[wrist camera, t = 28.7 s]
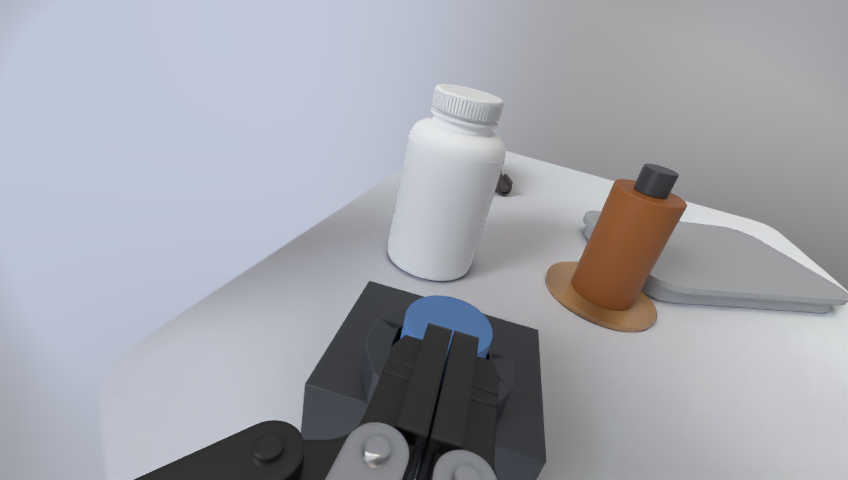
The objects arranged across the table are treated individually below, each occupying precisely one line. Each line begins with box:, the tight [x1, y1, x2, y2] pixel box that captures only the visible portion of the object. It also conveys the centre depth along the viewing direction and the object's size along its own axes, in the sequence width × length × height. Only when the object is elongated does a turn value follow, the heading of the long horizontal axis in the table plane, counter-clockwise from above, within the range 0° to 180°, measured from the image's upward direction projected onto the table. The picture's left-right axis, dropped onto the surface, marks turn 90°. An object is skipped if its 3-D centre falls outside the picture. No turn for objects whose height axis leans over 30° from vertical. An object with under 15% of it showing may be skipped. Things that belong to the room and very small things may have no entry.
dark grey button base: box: [301, 281, 546, 480], centre depth 22 cm, size 11×10×6 cm
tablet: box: [583, 211, 848, 313], centre depth 48 cm, size 16×26×2 cm, turn 99°
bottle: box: [571, 164, 687, 311], centre depth 35 cm, size 6×6×12 cm
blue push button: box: [400, 296, 493, 359], centre depth 19 cm, size 4×4×2 cm
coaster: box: [545, 262, 657, 332], centre depth 38 cm, size 10×10×1 cm
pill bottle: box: [388, 84, 505, 281], centre depth 35 cm, size 8×8×15 cm
